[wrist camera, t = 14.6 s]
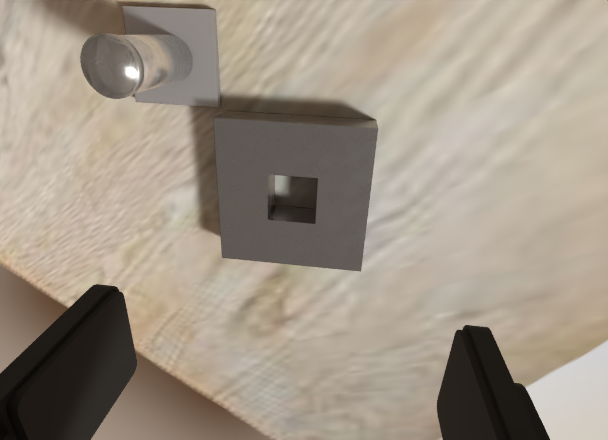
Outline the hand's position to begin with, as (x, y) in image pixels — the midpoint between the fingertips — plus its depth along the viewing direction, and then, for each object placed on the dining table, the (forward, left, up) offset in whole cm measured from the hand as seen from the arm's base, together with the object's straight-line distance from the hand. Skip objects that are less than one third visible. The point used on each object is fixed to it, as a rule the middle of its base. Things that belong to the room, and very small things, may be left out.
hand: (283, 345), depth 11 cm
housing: (+8, -4, -33) cm, 34 cm away
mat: (-5, -17, -33) cm, 38 cm away
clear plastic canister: (-5, -17, -32) cm, 37 cm away
